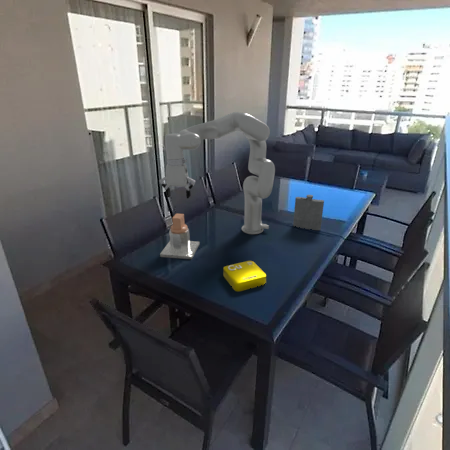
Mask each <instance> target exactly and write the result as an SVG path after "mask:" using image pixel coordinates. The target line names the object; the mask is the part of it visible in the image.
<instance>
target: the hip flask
mask: <svg viewBox="0 0 450 450" xmlns="http://www.w3.org/2000/svg"><path fill="white" fill-rule="evenodd" d="M324 205H325V200H323V199H317V198H316V199H314V195H313V194H306V196H305V197H303V196H296V197H295V200H294V211H293V223H292V226H293V227H295V226H296V227H297V228H299V227H300V228H299V229H304V228H305V230H310V229H312V230H313V231H321V228H322V221H323V220H322V219H323V213H324ZM296 227H295V228H296Z"/></svg>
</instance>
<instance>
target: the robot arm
mask: <svg viewBox="0 0 450 450" xmlns="http://www.w3.org/2000/svg"><path fill="white" fill-rule="evenodd" d="M235 132H242V134H243V136H244V137H245V138H246V139H247V141H248V143H249V147H250V149H249V155H248V156H249V158H248V166H247V169H248V171H249V173H251V174H253V175H249V176H247V177H246V178H244V181H243V184H242V187H243V188H242V189H243V193H244V223H243V225H242V226H241V231H242V232H243V233H245V234H248V235H258V234H259V235H260V234H261V233H263V232H264V229H265V230H266V229H267V230H269V228H270V227H269V226H270V225H268V224H267V223H263V221H262V208H263V207H262V205H263V199H267V198H268V197H269V196H270V195H271V194H272V191H273V186H274V179H275V174H276V166H275V164H274V162H273V161H272V160H270V159H267V140H268V139H269V138H270V135H271V134H270V133H271V130H270V127H269V126H268V125H267V124H266V123H265V122H263V121H261V120H260V119H258V118H257V117H255V116H254V115H253V116H252V115H251V114H249V113H247V112H239V111H234V112H230V113H228V114H225V115H223V116H221V117H218V118H215V119H212V120H210V121H209V120H208V121H205V122H202V123H199V124H195V125H191V126H189V127H187V128H184V129H182V130H180V131H179V132H178V133H167V134H165V137H164V142H165V143H164V144H165V153H166V160H167V161H166V162H167V164H166V166H165V176H164V177H162V178H160V179H159V180H158V182H159V184H160V185H161V187H162V188H163V189H164V190H165V195H166V197H167V198H166V199H169V198H170V197H171V195H172V194H171V188H170V187H179V188H180V187H182V188H185V189H186V191H185V193H186V199H189V198H190V197H191V194H192V193H191V192H192V191H191V189H192V188H193V187H194V185H195V184H196V180H195V179H193V178H191V177H190V176H189V172H188V168H187V164H186V163H188V160H187V159H186V158H185V157H184V151H187V150H188V151H194V150H197V149H198V148H199V147H200V145H201V143H202V141H203V140H215V139H220V138H221V139H222V137H225V136H227V135H229V134H232V133H235ZM255 175H256V176H255ZM189 183H191V184H189Z"/></svg>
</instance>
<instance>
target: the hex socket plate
mask: <svg viewBox="0 0 450 450" xmlns="http://www.w3.org/2000/svg"><path fill="white" fill-rule="evenodd" d="M168 232H169V233H168V234H169V241H168V243H167V244H166V245H165V247H164V248H163V249H162V251H161V252H160V254H159V255H160V256H159V257H161V258H170V259H180V260H181V259H183V260H193V257H194V256H195V255H196V252H197V250H198V249H199V247H200V243H201V242H200V241H198V240H197V241H193V240H191V237H190V229H189V228H188V230H187V231H186V232H184V233H179V234H177V233H172V232H171V228H170V229H169V230H168Z"/></svg>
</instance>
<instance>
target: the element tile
mask: <svg viewBox="0 0 450 450" xmlns="http://www.w3.org/2000/svg"><path fill="white" fill-rule="evenodd" d="M222 270H223V273H222V274H223V277H224V279H225V280H226V281H227V283H228V284H229V285H230V286H232V287H231V288H232V290H234V291H235V292H243V291H246V290H249V289H250V288H251V289H254V288H257V286H258V287H260V286H261V285H262V286H264V284H265V283H266V284H267V273H266V272H264V271H263V270H262V268H260V267H259V266H258V265H257V264H256V262H254V261H252V260H246V261H243V262H238V263H234V264H233V263H232V264H230V265H228V264H227V265H226V266H223V269H222ZM266 284H265V285H266ZM251 289H250V290H251Z"/></svg>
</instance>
